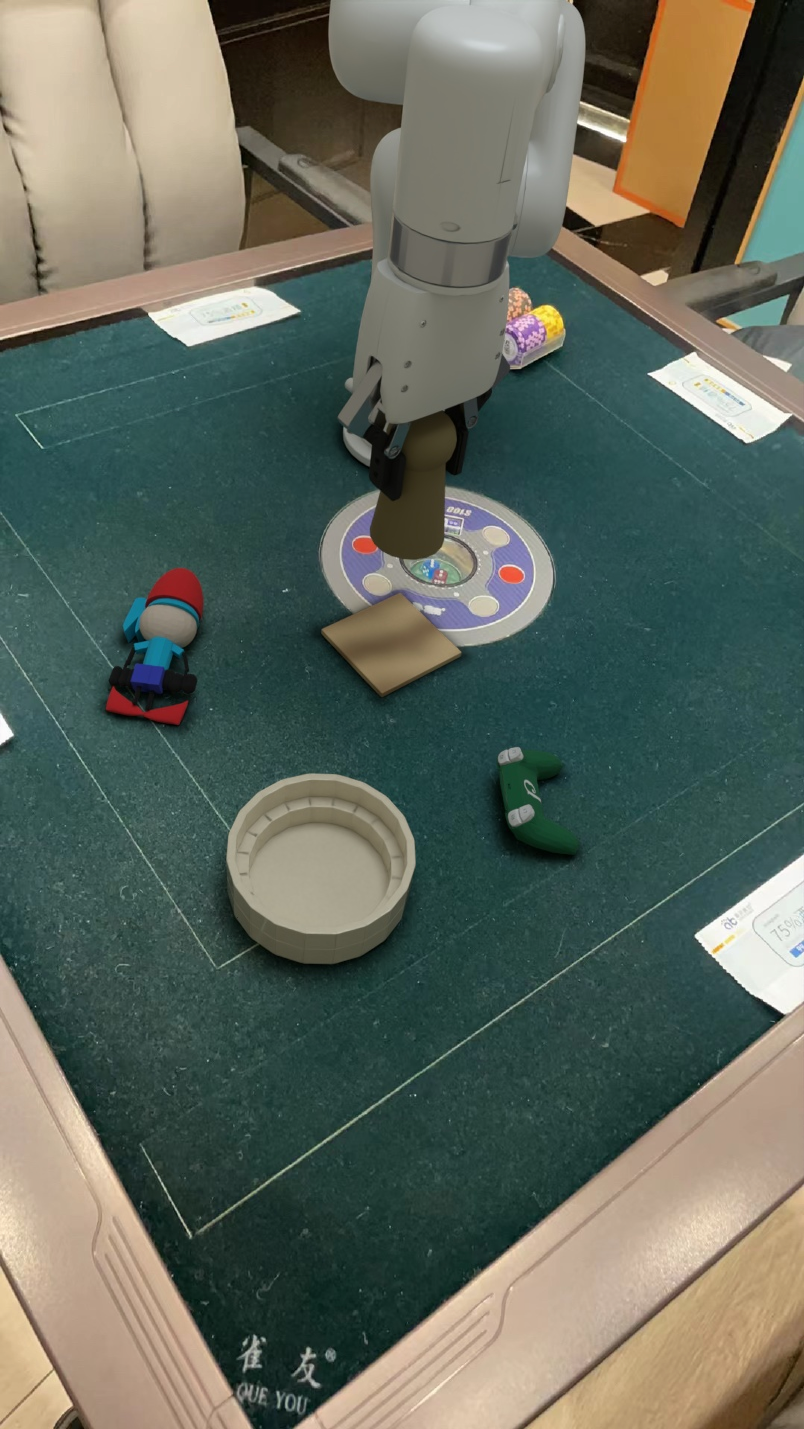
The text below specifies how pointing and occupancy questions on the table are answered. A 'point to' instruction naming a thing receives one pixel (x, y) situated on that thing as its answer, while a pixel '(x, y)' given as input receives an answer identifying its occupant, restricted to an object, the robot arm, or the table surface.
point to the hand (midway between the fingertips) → (415, 475)
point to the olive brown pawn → (417, 492)
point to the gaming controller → (531, 799)
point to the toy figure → (160, 645)
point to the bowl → (319, 868)
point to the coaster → (390, 644)
